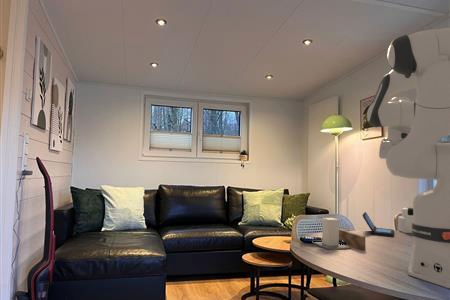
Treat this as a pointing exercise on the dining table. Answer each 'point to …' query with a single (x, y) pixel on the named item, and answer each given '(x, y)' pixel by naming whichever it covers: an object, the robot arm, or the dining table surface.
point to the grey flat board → (335, 247)
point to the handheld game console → (377, 230)
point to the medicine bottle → (405, 220)
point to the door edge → (352, 239)
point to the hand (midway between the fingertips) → (399, 169)
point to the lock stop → (330, 231)
